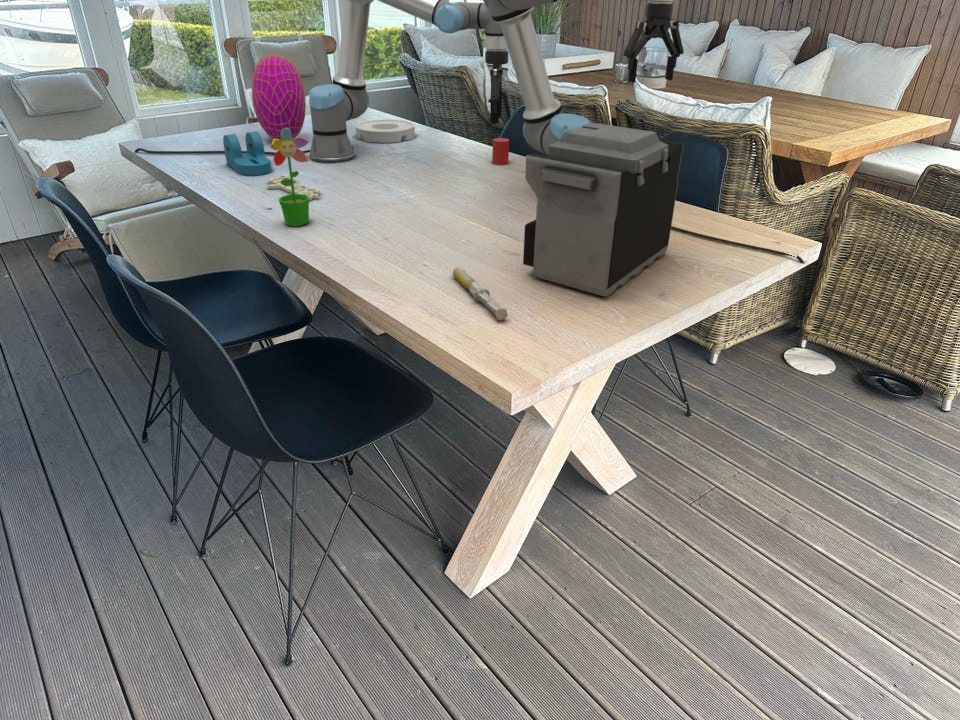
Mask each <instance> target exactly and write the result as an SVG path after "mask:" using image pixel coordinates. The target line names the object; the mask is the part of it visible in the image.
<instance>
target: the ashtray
mask: <svg viewBox="0 0 960 720" xmlns="http://www.w3.org/2000/svg"><path fill="white" fill-rule="evenodd" d="M415 128H416V127H415V124H414V123H413V122H411V121H408V120H403V119H390V118H389V119H387V118H385V119H384V118H383V119H382V118H381V119H371V120H365V121H361V122H358V123H357V124H355V137H356V138H357V139H358V140H363V141H364V142H369V143H381V144H382V143H383V144H384V143H386V144H387V143H388V144H389V143H399V142H402V141H409V140H410V141H411V140H412V139H414V138H415V137H416V131H415V130H416V129H415Z"/></svg>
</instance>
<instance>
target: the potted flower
mask: <svg viewBox="0 0 960 720" xmlns="http://www.w3.org/2000/svg"><path fill="white" fill-rule="evenodd" d="M280 136H281V140H282V141H281V140H279V139H273V138H272V141H271V145H270V148H271V149H272V150H274V151H275V152H276V153H275V155H273V163H274V165H275V167H277V166H282V164H283V163H285V161H286V158H287V164H288V165H287V166H288V171H289V179H283V180H282V181H281V184H282V185H284V186H291V188H292V194H291V193H289V194H286V195H282V196H280V197H279V198H278V202H279V205H280V207H281V210H282V215H283V219H284V223H285V225H287V226H290V227H291V226H292V227H301V226H304V225H306V224H309V222H310V206H309V205H310V200H309V196H307V195H304V194H295V191H294V184H295V182H293V178H296V177H297V176H299V174H300V173H299V171H297V170H295V171H293V168H292V162H291V161H292V160H291V159H293V160H294V161H296V162H297V163H307V162H309V158H308V156H307V155H306V153H304V152H302V151H303V150H301V148H303V147H305V146H306V145H308V144H309V143H310V140H308V139H307V138H306V137H303V136H299V135H298V136H296V137H295V138H293V139H292V134H291V131H290V130H289V129H288V128H284V129H283V130H282V131H281V134H280Z"/></svg>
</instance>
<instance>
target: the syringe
mask: <svg viewBox="0 0 960 720" xmlns="http://www.w3.org/2000/svg"><path fill="white" fill-rule="evenodd" d="M452 274H453V277H454V279H455V280H457V281H458V282H459V283H460V285H462V287H464V289H466V290H467V291H468V293H470V295H471V296H472V298H473V300H474V302H477V303H478V302H480V303H482V304H483V305H484V306H485V307H486V308H487V309H488V310H489V311H490V312H491V313H492V314H493V315H494V316H495V317H496V320H497V321H503V320H504V319H506V318H507V317H509V314H508V310H507V308H506V307H502V306H501V305H500V303H498V302H497V301H496V300H494V299H493V298H492V297H491V296H490V295H491V293H490V290H488V289H486V288H483V287H482V286H481V285H480V284H479V283H478V282H477V281H476V280H474V278H473V277H471V275H469V274H468V273H467V272H466V270H465V269H464V268H463V267H462V266H456V267H454V268H453V271H452Z"/></svg>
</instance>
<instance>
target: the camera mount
mask: <svg viewBox="0 0 960 720" xmlns="http://www.w3.org/2000/svg"><path fill="white" fill-rule="evenodd" d="M222 140H223V141H222V143H223V149H224V150H223V151H225V153H224V156H225V161H226V165H227V166H228V167H230V168H231V169H232V170H234V171H236V172H237V173H238V174H239V175H244V176H260V175H265V174H268V173H271V172H272V164H271V159H270V158H268V157H267V156H266V154H265V152H266V151H265V145H264V141H263V139H262V136H261V134H260V132H258V131H247V132H246V133H245V146H246V151H247V153H242V151H243V149H242V146H241V142H240V140H239V138H238V135H236V134H235V133H231V134H224V135H223V138H222Z"/></svg>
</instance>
